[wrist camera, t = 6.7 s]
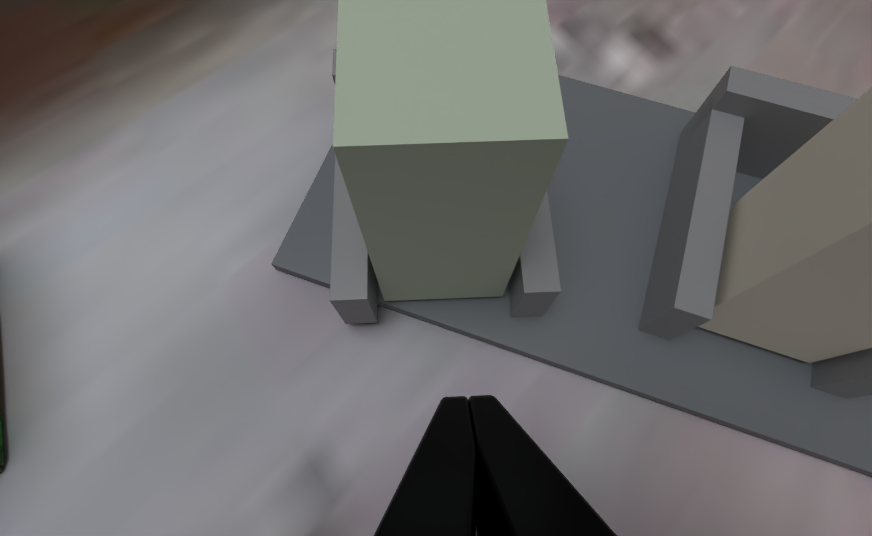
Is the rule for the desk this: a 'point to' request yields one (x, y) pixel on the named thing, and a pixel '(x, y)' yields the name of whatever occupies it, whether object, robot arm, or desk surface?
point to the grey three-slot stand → (634, 263)
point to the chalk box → (1, 448)
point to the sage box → (446, 137)
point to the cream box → (804, 249)
